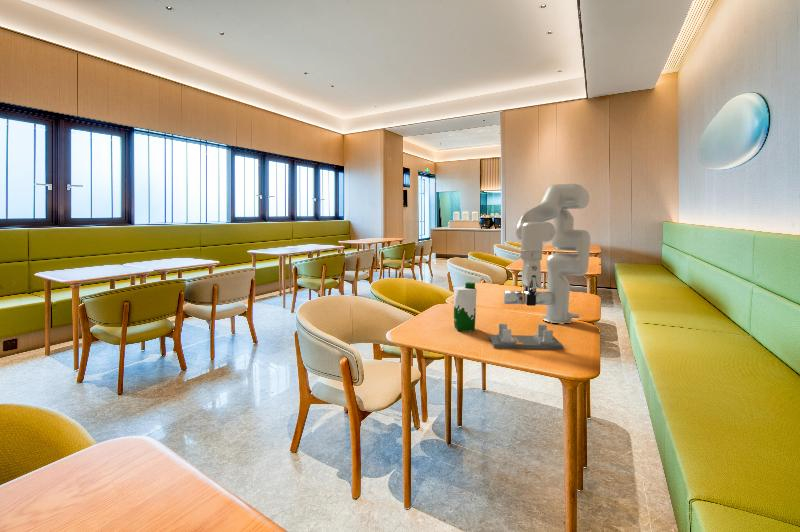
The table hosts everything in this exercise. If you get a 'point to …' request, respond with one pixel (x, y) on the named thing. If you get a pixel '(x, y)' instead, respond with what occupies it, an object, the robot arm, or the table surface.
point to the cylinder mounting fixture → (525, 339)
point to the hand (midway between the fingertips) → (529, 303)
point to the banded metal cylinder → (521, 297)
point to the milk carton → (465, 307)
